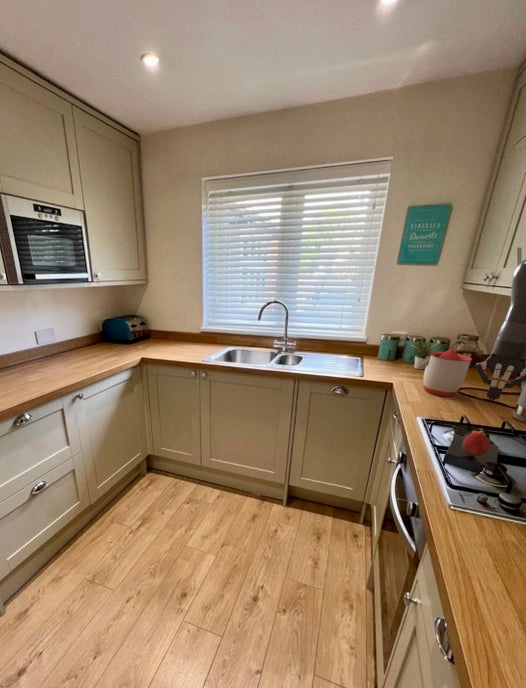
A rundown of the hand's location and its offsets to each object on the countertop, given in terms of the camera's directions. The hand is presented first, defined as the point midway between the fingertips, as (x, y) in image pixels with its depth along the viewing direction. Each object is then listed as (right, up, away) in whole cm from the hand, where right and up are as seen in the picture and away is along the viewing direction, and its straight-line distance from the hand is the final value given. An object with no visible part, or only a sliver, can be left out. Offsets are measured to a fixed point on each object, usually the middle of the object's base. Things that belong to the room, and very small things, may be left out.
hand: (491, 399), depth 94 cm
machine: (-4, -18, +3) cm, 18 cm away
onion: (-7, -16, -2) cm, 18 cm away
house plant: (+36, +23, +88) cm, 98 cm away
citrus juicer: (+22, +3, +56) cm, 60 cm away
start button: (0, -12, +5) cm, 13 cm away
